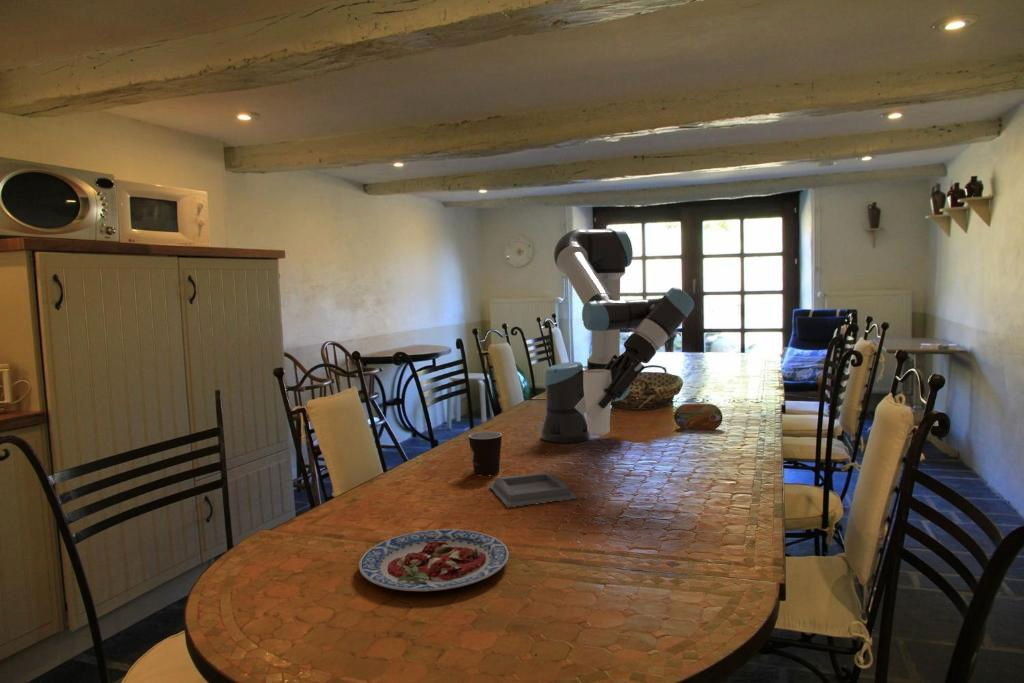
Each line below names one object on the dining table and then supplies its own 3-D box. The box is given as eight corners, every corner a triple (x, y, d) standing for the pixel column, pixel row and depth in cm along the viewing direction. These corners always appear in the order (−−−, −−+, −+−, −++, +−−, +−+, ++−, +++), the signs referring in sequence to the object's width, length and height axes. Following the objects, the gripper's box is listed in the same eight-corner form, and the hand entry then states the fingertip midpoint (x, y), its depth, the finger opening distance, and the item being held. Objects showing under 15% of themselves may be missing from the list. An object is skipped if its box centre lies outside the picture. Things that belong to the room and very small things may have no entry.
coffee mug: (499, 478, 169) (497, 439, 169) (466, 477, 171) (464, 438, 170) (508, 465, 181) (507, 429, 180) (477, 465, 182) (476, 428, 182)
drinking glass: (612, 429, 165) (610, 368, 164) (613, 435, 158) (612, 372, 157) (584, 429, 166) (582, 369, 164) (584, 436, 159) (583, 373, 158)
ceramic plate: (436, 530, 135) (435, 516, 135) (538, 560, 119) (538, 544, 118) (328, 575, 115) (327, 559, 115) (433, 619, 99) (432, 599, 99)
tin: (674, 429, 218) (673, 403, 218) (674, 427, 221) (674, 402, 221) (722, 430, 214) (722, 404, 213) (722, 428, 217) (722, 403, 216)
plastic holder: (489, 487, 162) (489, 477, 161) (552, 480, 166) (552, 470, 166) (507, 508, 146) (507, 497, 146) (576, 499, 151) (575, 488, 150)
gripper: (675, 356, 155) (611, 432, 152) (637, 348, 174) (579, 416, 171) (653, 334, 153) (589, 411, 150) (617, 329, 172) (559, 397, 169)
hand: (584, 413), depth 161 cm, fingers closed on drinking glass, 6 cm apart
